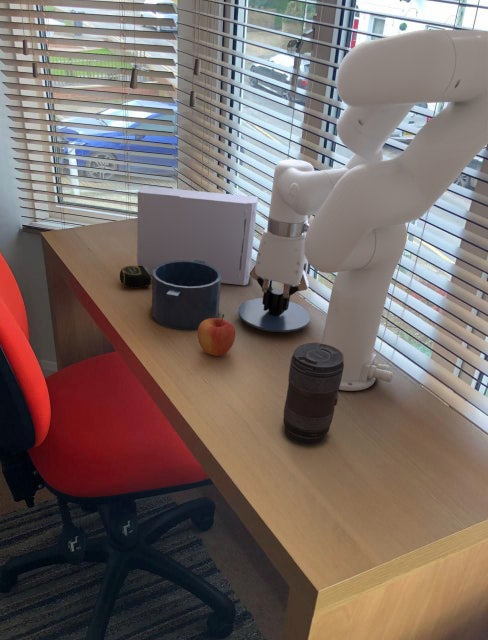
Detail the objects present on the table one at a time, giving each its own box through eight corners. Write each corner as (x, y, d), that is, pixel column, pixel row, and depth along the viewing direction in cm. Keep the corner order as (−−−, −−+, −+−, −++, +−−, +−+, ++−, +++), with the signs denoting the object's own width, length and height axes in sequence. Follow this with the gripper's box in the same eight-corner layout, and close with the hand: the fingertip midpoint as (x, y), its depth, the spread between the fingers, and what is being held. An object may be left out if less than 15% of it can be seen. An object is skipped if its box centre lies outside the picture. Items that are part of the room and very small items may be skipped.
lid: (314, 309, 145) (318, 284, 141) (303, 340, 132) (308, 313, 129) (246, 297, 148) (249, 272, 145) (230, 326, 136) (233, 299, 132)
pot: (227, 302, 148) (231, 262, 143) (203, 340, 132) (206, 297, 127) (168, 291, 151) (169, 252, 146) (137, 327, 135) (137, 285, 130)
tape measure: (152, 289, 152) (152, 274, 150) (123, 292, 150) (123, 276, 148) (144, 278, 157) (144, 263, 155) (116, 280, 155) (116, 265, 153)
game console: (247, 286, 156) (256, 204, 145) (136, 274, 159) (137, 192, 148) (249, 277, 161) (258, 196, 150) (141, 265, 163) (142, 185, 152)
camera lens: (295, 412, 112) (309, 336, 104) (337, 432, 108) (355, 353, 100) (270, 433, 107) (282, 353, 99) (313, 454, 103) (329, 373, 94)
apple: (188, 353, 128) (190, 316, 123) (211, 340, 132) (214, 304, 128) (218, 366, 124) (221, 329, 119) (240, 353, 129) (244, 317, 124)
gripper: (331, 229, 129) (316, 313, 139) (256, 213, 134) (246, 295, 145) (319, 240, 123) (304, 327, 133) (241, 223, 129) (233, 307, 139)
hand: (274, 309), depth 139 cm, fingers closed on lid, 2 cm apart
